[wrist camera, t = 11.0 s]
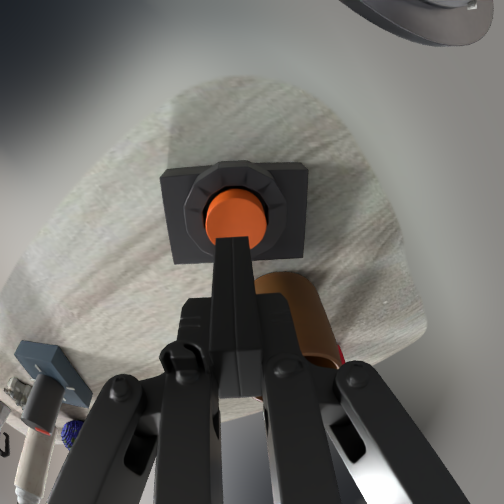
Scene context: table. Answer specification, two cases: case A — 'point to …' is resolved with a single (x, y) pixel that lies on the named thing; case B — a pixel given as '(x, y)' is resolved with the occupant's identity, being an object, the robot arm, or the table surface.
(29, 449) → the thermos bottle
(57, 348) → the dial panel
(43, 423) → the temp dial
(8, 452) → the coffeepot
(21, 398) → the grey jagged hollow block
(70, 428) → the ball
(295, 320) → the mug
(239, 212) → the round orange button
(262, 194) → the push button switch
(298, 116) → the table surface
